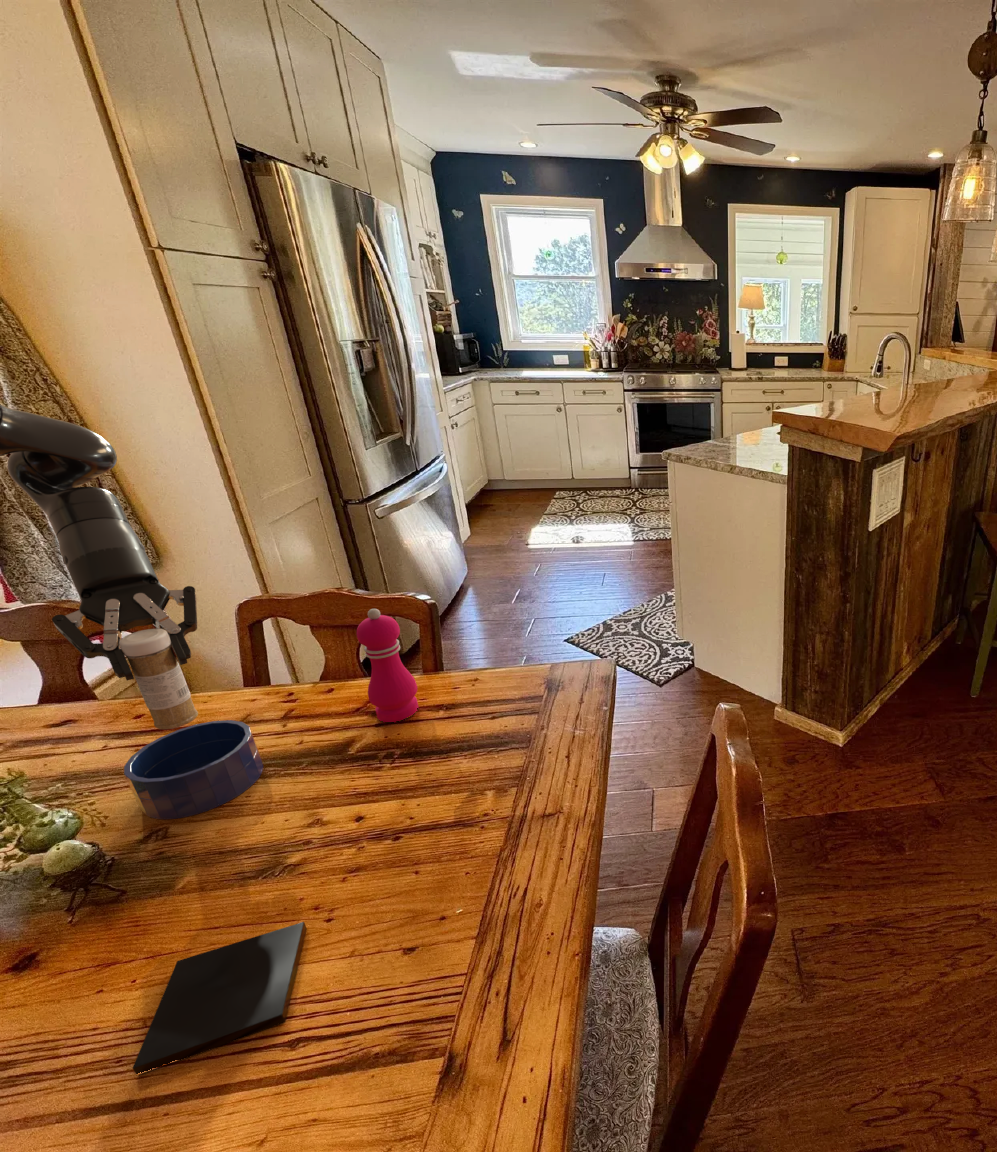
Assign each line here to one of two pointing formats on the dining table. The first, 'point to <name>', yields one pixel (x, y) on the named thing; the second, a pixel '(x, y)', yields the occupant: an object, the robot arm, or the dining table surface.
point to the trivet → (223, 996)
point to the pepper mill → (387, 669)
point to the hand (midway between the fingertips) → (156, 669)
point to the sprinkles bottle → (159, 678)
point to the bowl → (194, 769)
